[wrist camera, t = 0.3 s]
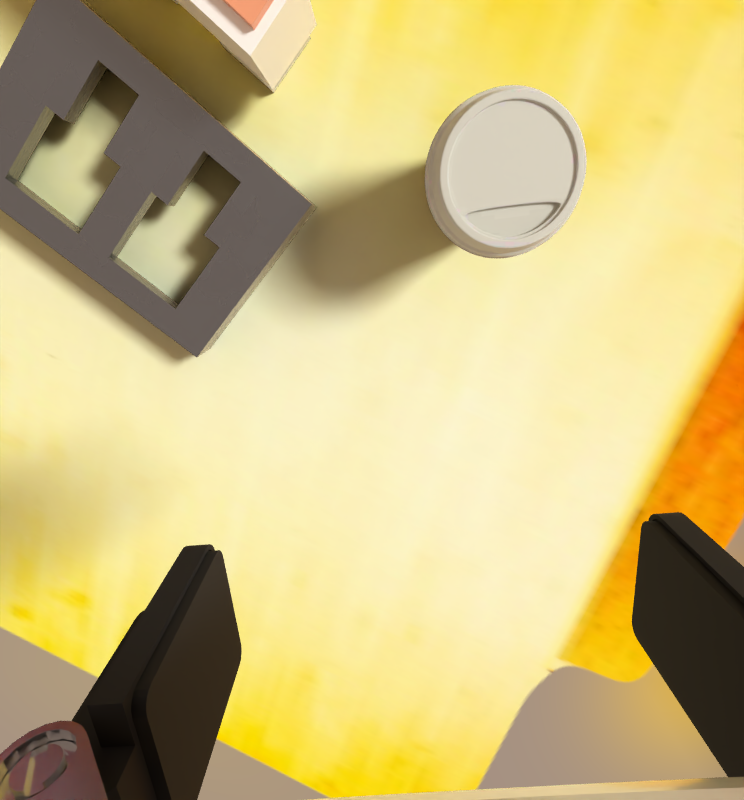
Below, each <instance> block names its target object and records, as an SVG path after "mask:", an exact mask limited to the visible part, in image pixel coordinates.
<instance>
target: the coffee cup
mask: <svg viewBox="0 0 744 800" xmlns="http://www.w3.org/2000/svg"><path fill="white" fill-rule="evenodd" d="M585 174H586V150H585V144H584V140H583V137H582V133H581V131H580V129H579V126H578V124H577V123H576V121H575V119H574V118H573V116H572V115H571V114H570V112H569V111H568V110H567V109H566V108H565V107H564V106H563V105H562V104H561V103H560V102H558V101H557V100H556V99H554V98H553V97H551V96H550V95H548V94H547V93H544V92H542V91H540V90H538V89H535V88H531V87H527V86H520V85H508V86H500V87H495V88H492V89H489V90H486V91H483V92H481V93H478V94H476V95H474V96H472V97H471V98H469V99H467V100H466V101H465V102H463V103H462V104H461V105H459V106H458V107H457V108H456V109H455V110H454V111H453V112H452V113H451V114H450V115H449V116H448V117H447V118H446V120H445V121H444V122H443V124H442V125H441V127H440V128H439V130H438V132H437V133H436V135H435V137H434V139H433V142H432V144H431V147H430V150H429V153H428V157H427V161H426V168H425V191H426V197H427V201H428V205H429V208H430V211H431V213H432V216H433V218H434V220H435V222H436V223H437V225H438V226H439V228H440V229H441V231H442V232H443V233H444V234H445V235H446V236H447V237H448V238H449V239H450V240H451V241H452V242H453V243H454V244H456V245H457V246H458V247H460V248H462V249H463V250H465V251H467V252H469V253H472V254H475V255H478V256H482V257H487V258H508V257H513V256H517V255H521V254H523V253H526V252H528V251H531V250H533V249H534V248H536V247H538V246H540V245H541V244H543V243H544V242H546V241H547V240H548V239H550V238H551V237H552V236H553V235H554V234H555V233H556V232H557V231H558V230H559V229H560V228H561V227H562V226H563V225H564V224H565V222H566V221H567V220H568V218H569V217H570V215H571V213H572V212H573V210H574V208H575V206H576V204H577V202H578V200H579V197H580V194H581V191H582V187H583V184H584V179H585Z"/></svg>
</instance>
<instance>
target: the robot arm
mask: <svg viewBox="0 0 744 800" xmlns="http://www.w3.org/2000/svg"><path fill="white" fill-rule="evenodd" d="M632 626H633V630H634V633H635V636H636V638H637V639H638V641H639V643H640V644H641V646H642V647H643V649H644V650H645V652H646V653H647V655H648V656H649V658H650V659H651V661H652V662H653V664H654V665H655V667H656V668H657V670H658V671H659V673H660V674H661V676H662V677H663V679H664V680H665V682H666V683H667V685H668V686H669V688H670V690H671V691H672V692H673V694H674V696H675V697H676V698H677V700H678V702H679V703H680V705H681V706H682V708H683V709H684V711H685V712H686V714H687V715H688V717H689V718H690V720H691V721H692V723H693V724H694V726H695V727H696V729H697V730H698V732H699V733H700V735H701V736H702V738H703V740H704V741H705V743H706V744H707V746H708V747H709V749H710V750H711V752H712V753H713V755H714V756H715V757H716V759H717V761H718V762H719V764H720V765H721V767H722V768H723V770H724V771H725V773H726V774H727V776H728V777H723V778H701V779H680V780H661V781H639V782H617V783H598V784H597V783H596V784H575V785H557V786H538V787H519V788H499V789H481V790H463V791H445V792H426V793H408V794H391V795H375V796H358V797H342V798H325V799H309V800H744V567H743V566H742V565H741V564H740V563H738V562H737V561H736V560H735V559H734V558H733V557H732V556H731V555H729V554H728V553H727V552H726V551H725V550H724V549H723V548H722V547H721V546H719V545H718V544H717V543H716V542H715V541H714V540H713V539H712V538H710V537H709V536H708V535H707V534H706V533H705V532H704V531H702V530H701V529H700V528H699V527H698V526H697V525H696V524H695V523H693V522H692V521H691V520H690V519H689V518H688V517H687V516H686V515H684V514H683V513H679V512H677V513H662V514H653V515H651V516H650V518H649V521H645V522H643V524H642V527H641V536H640V546H639V556H638V566H637V575H636V585H635V595H634V605H633V615H632ZM240 661H241V642H240V637H239V632H238V627H237V623H236V618H235V613H234V608H233V603H232V598H231V593H230V588H229V583H228V578H227V573H226V569H225V564H224V559H223V555H222V552H221V551H220V550H218V551H215V550H214V547H213V546H212V545H210V544H209V545H195V546H186V547H184V548H183V549H182V551H181V553H180V554H179V556H178V557H177V559H176V561H175V562H174V564H173V566H172V567H171V569H170V570H169V572H168V574H167V575H166V577H165V579H164V580H163V582H162V583H161V585H160V587H159V588H158V590H157V592H156V593H155V595H154V596H153V598H152V600H151V601H150V603H149V605H148V606H147V608H146V609H145V610H144V611H142V612H141V613H140V614H139V615H138V616H137V617H136V619H135V620H134V622H133V624H132V625H131V627H130V628H129V630H128V632H127V633H126V635H125V636H124V638H123V640H122V641H121V643H120V644H119V646H118V648H117V649H116V651H115V652H114V654H113V656H112V657H111V659H110V660H109V662H108V664H107V665H106V667H105V668H104V670H103V672H102V673H101V675H100V676H99V678H98V680H97V681H96V683H95V684H94V686H93V688H92V689H91V691H90V692H89V694H88V696H87V697H86V699H85V700H84V702H83V703H82V705H81V707H80V709H79V710H78V712H77V713H76V715H75V716H74V718H73V719H72V721H57V722H53V723H49V724H45V725H43V726H41V727H39V728H36V729H34V730H32V731H30V732H28V733H27V734H25V735H24V736H22V737H21V738H19V739H18V740H16V741H15V742H13V743H12V744H11V745H10V746H9V747H8V748H7V749H5V750H4V751H3V752H2V753H1V754H0V800H197V798H198V795H199V792H200V789H201V786H202V782H203V779H204V776H205V773H206V770H207V766H208V763H209V760H210V757H211V753H212V751H213V747H214V744H215V741H216V738H217V735H218V731H219V728H220V725H221V722H222V719H223V716H224V712H225V709H226V706H227V703H228V700H229V696H230V693H231V690H232V687H233V684H234V681H235V677H236V674H237V671H238V668H239V665H240Z"/></svg>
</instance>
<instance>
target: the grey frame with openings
mask: <svg viewBox="0 0 744 800" xmlns="http://www.w3.org/2000/svg"><path fill="white" fill-rule="evenodd" d="M107 68H108V69H109V70H110V71H112V72H113V73H114V74H115V75H116V76H117V77H119V78H120V79H121V80H122V81H123V82H124V83H126V84H127V85H128V86H129V87H130V88H131V89H133V90H134V91H135V92H136V93H137V94H138V95H139V96H138V97H137V99H136V101H135V102H134V104H133V106H132V107H131V109H130V111H129V112H128V114H127V116H126V117H125V119H124V120H123V122H122V124H121V125H120V127H119V129H118V130H117V132H116V134H115V135H114V137H113V139H112V140H111V142H110V143H109V145H108V147H107V148H106V150H105V152H104V154H106V155H107V156H108V157H109V158H110V159H112V160H113V161H114V162H115V163H117V164H118V165H119V166H120V169H119V170H118V172H117V173H116V175H115V177H114V178H113V180H112V182H111V183H110V185H109V186H108V188H107V190H106V191H105V193H104V194H103V196H102V198H101V199H100V201H99V202H98V204H97V206H96V207H95V209H94V210H93V212H92V214H91V215H90V217H89V218H88V220H87V222H86V223H85V225H84V226H83V228H82V230H81V229H80V228H79V227H78V226H76V225H75V224H74V223H72V222H71V221H70V220H68V219H67V218H66V217H65V216H63V215H62V214H61V213H59V212H58V211H57V210H56V209H54V208H53V207H52V206H50V205H49V204H48V203H47V202H45V201H44V200H43V199H41V198H40V197H39V196H37V195H36V194H35V193H34V192H32V191H31V190H30V189H28V188H27V187H26V186H25V185H23V184H22V183H21V182H19V181H18V178H19V176H20V174H21V173H22V171H23V169H24V167H25V165H26V164H27V162H28V160H29V158H30V157H31V155H32V153H33V151H34V150H35V148H36V146H37V144H38V143H39V141H40V139H41V137H42V136H43V134H44V132H45V130H46V129H47V127H48V125H49V123H50V122H51V120H52V118H53V116H54V114H57V115H58V116H59V117H60V118H61V119H63V120H64V121H67V122H70V123H72V124H75V122H76V120H77V118H78V117H79V115H80V113H81V112H82V110H83V108H84V106H85V105H86V103H87V101H88V100H89V98H90V96H91V94H92V93H93V91H94V89H95V88H96V86H97V84H98V82H99V81H100V79H101V77H102V76H103V74H104V72H105V70H106V69H107ZM208 155H210V156H211V157H212V158H213V159H214V160H215V161H217V162H218V163H219V164H220V165H221V166H222V167H224V168H225V169H226V170H227V171H228V172H229V173H231V174H232V175H233V176H234V177H235V178H236V179H238V180H239V181H240V182H241V183H240V184H239V186H238V187H237V189H236V190H235V191H234V193H233V194H232V196H231V197H230V199H229V200H228V201H227V203H226V204H225V206H224V207H223V209H222V210H221V211H220V213H219V214H218V216H217V217H216V219H215V220H214V221H213V223H212V224H211V226H210V227H209V229H208V230H207V231H206V233H205V234H204V235H205V236H206V237H207V238H208V239H210V240H211V241H212V242H213V243H215V244H216V245H217V246H218V247H219V249H218V250H217V252H216V253H215V255H214V256H213V257H212V259H211V260H210V262H209V263H208V264H207V266H206V267H205V269H204V270H203V271H202V273H201V274H200V276H199V277H198V278H197V280H196V281H195V283H194V284H193V285H192V287H191V288H190V290H189V291H188V292H187V294H186V295H185V297H184V298H183V299H182V301H181V302H180V304H179V305H178V304H177V303H176V302H174V301H173V300H172V299H171V298H169V297H168V296H167V295H165V294H164V293H163V292H162V291H160V290H159V289H158V288H156V287H155V286H154V285H153V284H151V283H150V282H149V281H147V280H146V279H145V278H143V277H142V276H141V275H140V274H138V273H137V272H136V271H134V270H133V269H132V268H131V267H129V266H128V265H127V264H125V263H124V262H123V261H121V260H120V259H119V258H118V257H117V256H118V255H119V253H120V252H121V250H122V248H123V247H124V245H125V244H126V242H127V241H128V239H129V238H130V236H131V235H132V233H133V232H134V230H135V229H136V227H137V226H138V224H139V223H140V221H141V220H142V218H143V216H144V215H145V213H146V212H147V210H148V209H149V207H150V206H151V204H152V203H153V201H154V200H155V198H156V197H158V198H159V199H161V200H162V201H163V202H164V203H166V204H167V205H170V206H175V204H176V203H177V201H178V200H179V198H180V197H181V195H182V194H183V192H184V191H185V189H186V188H187V186H188V185H189V183H190V182H191V180H192V179H193V177H194V176H195V174H196V173H197V172H198V170H199V169H200V167H201V166H202V164H203V163H204V161H205V160H206V158H207V157H208ZM316 208H317V207H316V206H315V205H314V204H313V203H312V202H311V201H309V200H308V199H307V198H306V197H305V196H304V195H303V194H301V193H300V192H299V191H298V190H297V189H296V188H295V187H293V186H292V185H291V184H290V183H289V182H288V181H287V180H286V179H284V178H283V177H282V176H281V175H280V174H279V173H278V172H276V171H275V170H274V169H273V168H272V167H271V166H270V165H268V164H267V163H266V162H265V161H264V160H263V159H262V158H260V157H259V156H258V155H257V154H256V153H255V152H254V151H252V150H251V149H250V148H249V147H248V146H247V145H246V144H244V143H243V142H242V141H241V140H240V139H239V138H238V137H237V136H235V135H234V134H233V133H232V132H231V131H230V130H229V129H227V128H226V127H225V126H224V125H223V124H222V123H221V122H219V121H218V120H217V119H216V118H215V117H214V116H213V115H211V114H210V113H209V112H208V111H207V110H206V109H205V108H203V107H202V106H201V105H200V104H199V103H198V102H197V101H195V100H194V99H193V98H192V97H191V96H190V95H189V94H188V93H186V92H185V91H184V90H183V89H182V88H181V87H180V86H178V85H177V84H176V83H175V82H174V81H173V80H172V79H170V78H169V77H168V76H167V75H166V74H165V73H164V72H162V71H161V70H160V69H159V68H158V67H157V66H156V65H154V64H153V63H152V62H151V61H150V60H149V59H148V58H147V57H145V56H144V55H143V54H142V53H141V52H140V51H139V50H137V49H136V48H135V47H134V46H133V45H132V44H131V43H129V42H128V41H127V40H126V39H125V38H124V37H123V36H121V35H120V34H119V33H118V32H117V31H116V30H115V29H113V28H112V27H111V26H110V25H109V24H108V23H107V22H105V21H104V20H103V19H102V18H101V17H100V16H99V15H98V14H96V13H95V12H94V11H93V10H92V9H91V8H90V7H88V6H87V5H86V4H85V3H84V2H83V1H82V0H36V2H35V4H34V6H33V7H32V9H31V11H30V13H29V15H28V17H27V19H26V21H25V23H24V25H23V26H22V28H21V30H20V32H19V34H18V36H17V38H16V40H15V42H14V44H13V46H12V47H11V49H10V51H9V53H8V55H7V57H6V59H5V61H4V63H3V65H2V66H1V68H0V209H1V210H2V211H4V212H5V213H6V214H8V215H9V216H10V217H12V218H13V219H14V220H15V221H17V222H18V223H19V224H21V225H22V226H23V227H25V228H26V229H27V230H29V231H30V232H31V233H33V234H34V235H35V236H37V237H38V238H39V239H41V240H42V241H43V242H45V243H46V244H47V245H49V246H50V247H51V248H53V249H54V250H55V251H57V252H58V253H59V254H61V255H62V256H63V257H64V258H66V259H67V260H68V261H70V262H71V263H72V264H74V265H75V266H76V267H78V268H79V269H80V270H82V271H83V272H84V273H86V274H87V275H88V276H90V277H91V278H92V279H94V280H95V281H96V282H98V283H99V284H100V285H102V286H103V287H104V288H106V289H107V290H108V291H110V292H111V293H112V294H113V295H115V296H116V297H117V298H119V299H120V300H121V301H123V302H124V303H125V304H127V305H128V306H129V307H131V308H132V309H133V310H135V311H136V312H137V313H139V314H140V315H141V316H143V317H144V318H145V319H147V320H148V321H149V322H151V323H152V324H153V325H155V326H156V327H157V328H159V329H160V330H161V331H162V332H164V333H165V334H166V335H168V336H169V337H170V338H172V339H173V340H174V341H176V342H177V343H178V344H180V345H181V346H182V347H184V348H185V349H186V350H188V351H189V352H190V353H192V354H193V355H194V356H196V357H198V356H200V355H201V354H203V353H204V352H206V351H207V350H209V349H210V348H211V347H212V346H213V344H214V343H215V342H216V340H217V339H218V338H219V336H220V335H221V334H222V332H223V331H224V330H225V328H226V327H227V326H228V324H229V323H230V322H231V320H232V319H233V318H234V316H235V315H236V314H237V312H238V311H239V310H240V308H241V307H242V306H243V304H244V303H245V302H246V300H247V299H248V298H249V296H250V295H251V294H252V292H253V291H254V290H255V288H256V287H257V286H258V284H259V283H260V282H261V281H262V279H263V278H264V277H265V275H266V274H267V273H268V271H269V270H270V269H271V267H272V266H273V265H274V263H275V262H276V261H277V259H278V258H279V257H280V255H281V254H282V253H283V251H284V250H285V249H286V247H287V246H288V245H289V243H290V242H291V241H292V239H293V238H294V237H295V235H296V234H297V233H298V231H299V230H300V229H301V227H302V226H303V225H304V223H305V222H306V221H307V219H308V218H309V217H310V216H311V214H312V213H313V212H314V210H315V209H316Z"/></svg>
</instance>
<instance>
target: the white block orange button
mask: <svg viewBox="0 0 744 800" xmlns="http://www.w3.org/2000/svg"><path fill="white" fill-rule="evenodd" d="M173 1H174V2H175V3H176V4H178V3H179V4H180V5H181V6H182V7H183V8H185V9H186V10H187V11H188V12H189V13H190V14H191V15H192V16H193V17H194V18H195V19H197V20H198V21H199V22H200V23H201V24H202V25H203V26H204V27H205V28H206V29H207V30H208V31H210V32H211V33H212V34H213V35H214V36H215V37H216V38H217V39H218V40H219V41H220V43H221V44H222V46H223V47H224V48H225V49H226V50H227V51H228V52H229V53H231V54H232V55H233V56H234V57H235V58H236V59H237V60H238V61H239V62H240V63H241V64H243V65H244V66H245V67H246V68H247V69H248V70H249V71H250V72H251V73H252V74H253V75H255V76H256V77H257V78H258V79H259V80H260V81H261V82H262V83H263V84H264V85H266V86H267V87H268V88H269V89H270V90H271V91H272V92H273V93H274V92H275V90H276V89H277V87H278V86H279V84H280V83H281V81H282V80H283V79H284V77H285V76H286V74H287V73H288V71H289V70H290V68H291V67H292V65H293V64H294V62H295V61H296V59H297V58H298V57H299V55H300V54H301V52H302V51H303V49H304V48H305V46H306V45H307V43H308V42H309V40H310V39H311V38H310V34H311V33H312V31H313V30H314V28H315V27H316V25H317V24H316V20H315V17H314V13H313V9H312V5H311V1H310V0H173Z"/></svg>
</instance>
